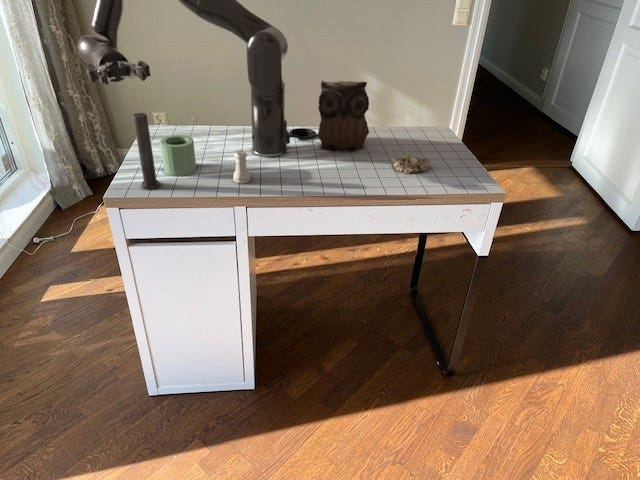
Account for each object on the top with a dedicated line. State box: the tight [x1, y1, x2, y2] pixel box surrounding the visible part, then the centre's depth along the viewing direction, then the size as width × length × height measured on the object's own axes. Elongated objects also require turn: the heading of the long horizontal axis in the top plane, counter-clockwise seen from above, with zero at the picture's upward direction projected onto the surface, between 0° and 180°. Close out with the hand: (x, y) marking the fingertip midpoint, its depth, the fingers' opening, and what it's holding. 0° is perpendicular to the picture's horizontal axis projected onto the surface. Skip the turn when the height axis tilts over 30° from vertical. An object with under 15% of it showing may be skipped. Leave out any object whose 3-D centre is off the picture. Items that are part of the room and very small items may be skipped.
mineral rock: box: [391, 153, 431, 174], centre depth 137 cm, size 11×4×8 cm
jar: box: [159, 134, 197, 177], centre depth 128 cm, size 8×8×8 cm
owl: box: [317, 80, 370, 153], centre depth 143 cm, size 13×13×20 cm
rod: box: [132, 112, 160, 191], centre depth 116 cm, size 4×4×18 cm
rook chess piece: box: [232, 149, 251, 185], centre depth 124 cm, size 4×4×8 cm
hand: (125, 78), depth 116 cm, fingers open, 8 cm apart
